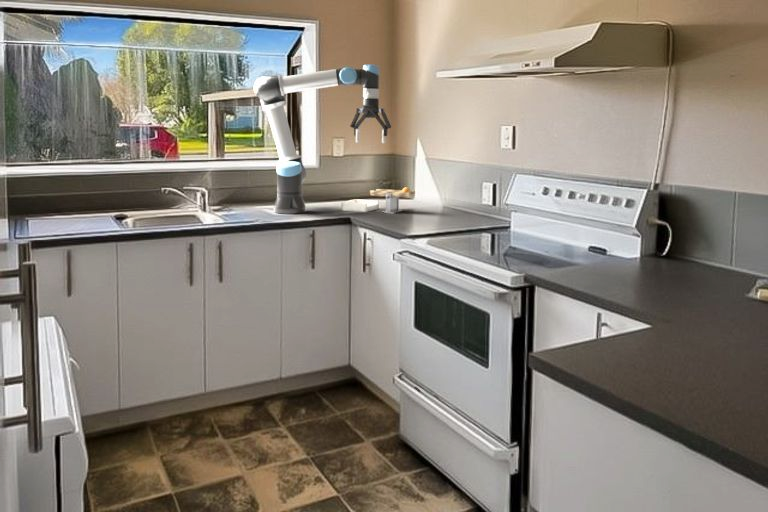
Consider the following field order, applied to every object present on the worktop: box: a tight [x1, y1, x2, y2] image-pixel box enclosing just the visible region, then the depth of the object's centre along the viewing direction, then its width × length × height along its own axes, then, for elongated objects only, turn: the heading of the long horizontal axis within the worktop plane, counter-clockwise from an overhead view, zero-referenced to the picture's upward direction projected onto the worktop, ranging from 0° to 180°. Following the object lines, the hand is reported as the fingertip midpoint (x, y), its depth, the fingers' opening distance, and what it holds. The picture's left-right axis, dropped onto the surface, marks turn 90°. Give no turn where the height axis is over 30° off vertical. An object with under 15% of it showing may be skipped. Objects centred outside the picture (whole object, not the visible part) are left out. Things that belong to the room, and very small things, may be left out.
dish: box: [341, 198, 380, 213], centre depth 361 cm, size 13×14×4 cm
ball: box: [402, 186, 411, 192], centre depth 350 cm, size 4×4×4 cm
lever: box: [369, 188, 416, 199], centre depth 356 cm, size 20×14×2 cm
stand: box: [381, 193, 403, 214], centre depth 354 cm, size 6×11×9 cm, turn 156°
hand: (370, 142), depth 360 cm, fingers open, 13 cm apart
